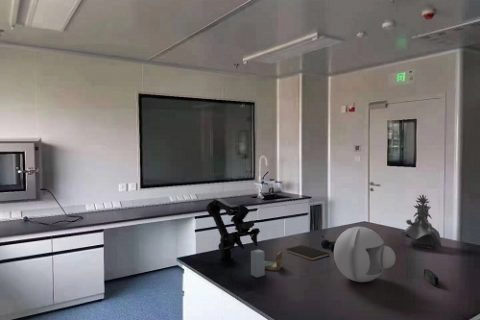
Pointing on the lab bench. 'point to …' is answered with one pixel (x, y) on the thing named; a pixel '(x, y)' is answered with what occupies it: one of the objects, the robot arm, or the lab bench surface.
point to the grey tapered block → (257, 263)
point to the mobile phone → (431, 277)
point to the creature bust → (422, 227)
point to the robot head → (362, 254)
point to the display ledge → (275, 263)
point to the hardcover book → (307, 252)
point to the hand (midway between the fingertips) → (250, 247)
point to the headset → (328, 244)
